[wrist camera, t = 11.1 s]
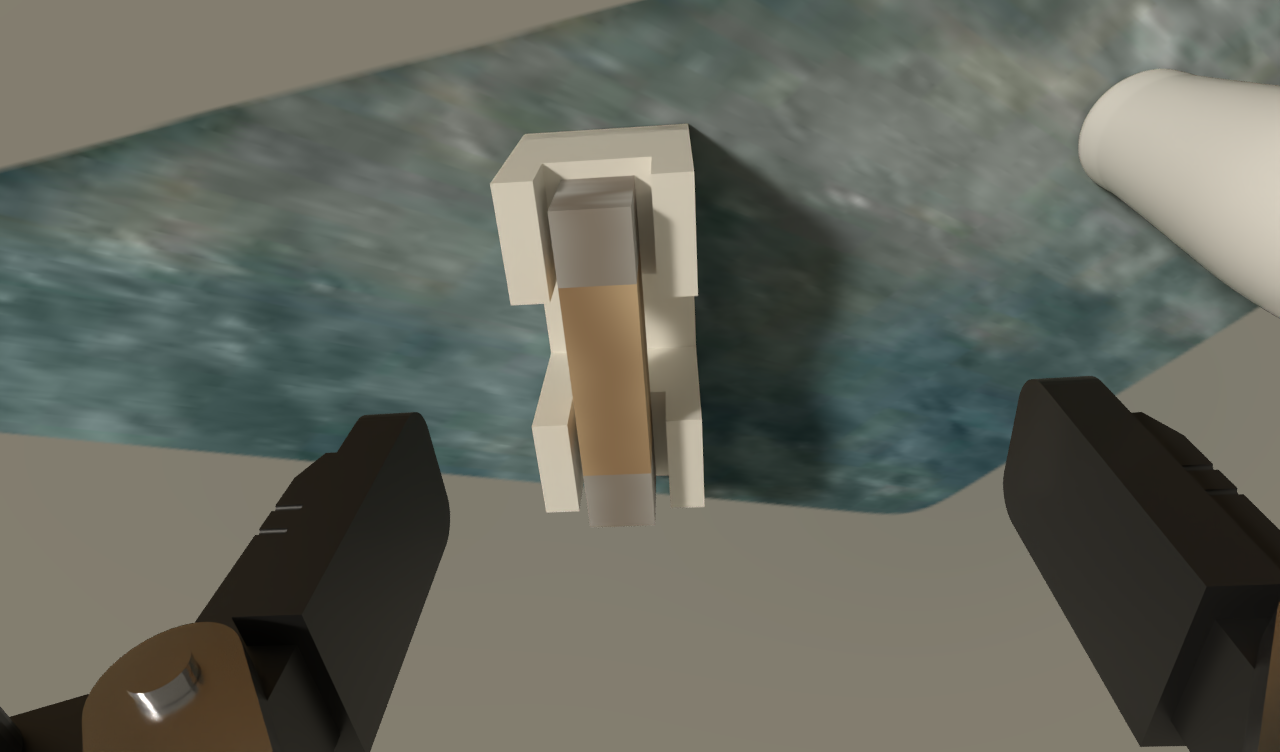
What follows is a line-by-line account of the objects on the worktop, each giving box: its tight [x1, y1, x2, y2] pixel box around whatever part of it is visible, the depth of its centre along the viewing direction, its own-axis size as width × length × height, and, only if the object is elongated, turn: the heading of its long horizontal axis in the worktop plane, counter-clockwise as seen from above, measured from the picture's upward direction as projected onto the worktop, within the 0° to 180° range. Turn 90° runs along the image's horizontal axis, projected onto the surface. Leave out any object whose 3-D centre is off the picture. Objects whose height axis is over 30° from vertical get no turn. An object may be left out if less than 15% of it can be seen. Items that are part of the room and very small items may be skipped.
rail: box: [548, 175, 656, 527], centre depth 32 cm, size 3×15×4 cm, turn 4°
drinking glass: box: [1078, 69, 1280, 318], centre depth 27 cm, size 7×7×15 cm
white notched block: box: [490, 124, 704, 512], centre depth 35 cm, size 8×16×8 cm, turn 4°
